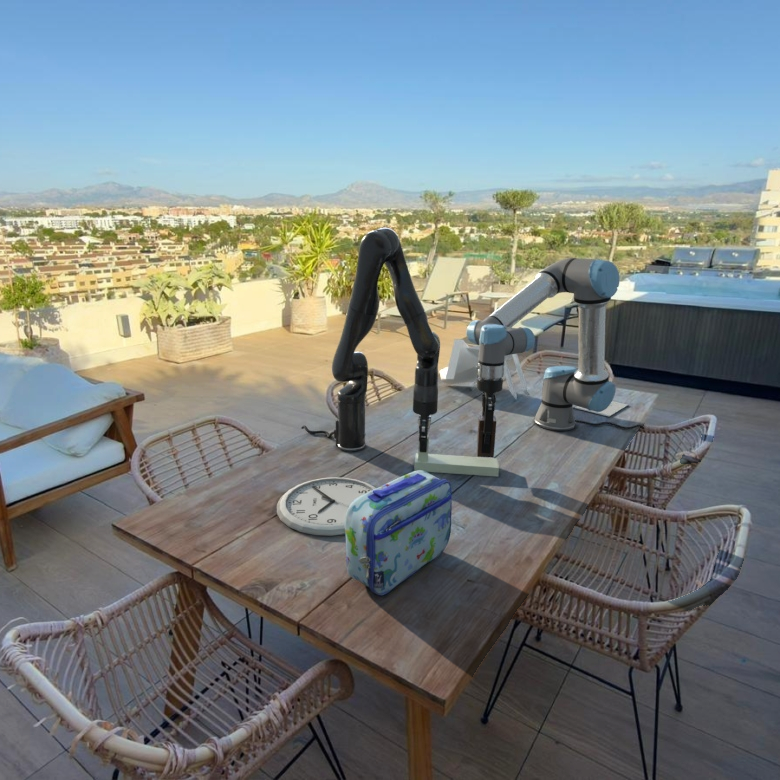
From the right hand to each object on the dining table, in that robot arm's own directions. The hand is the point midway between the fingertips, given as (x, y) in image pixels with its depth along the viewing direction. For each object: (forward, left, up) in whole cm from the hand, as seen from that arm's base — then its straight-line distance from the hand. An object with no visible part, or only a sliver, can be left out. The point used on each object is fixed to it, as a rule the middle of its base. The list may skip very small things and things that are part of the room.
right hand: (485, 448), depth 163 cm
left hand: (+19, 0, -1) cm, 19 cm away
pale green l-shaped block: (+9, 0, -7) cm, 11 cm away
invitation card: (-54, -71, -7) cm, 89 cm away
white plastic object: (-2, -83, -7) cm, 83 cm away
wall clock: (+42, +28, -7) cm, 51 cm away
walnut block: (0, 0, -2) cm, 2 cm away
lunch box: (+21, +53, -7) cm, 58 cm away
